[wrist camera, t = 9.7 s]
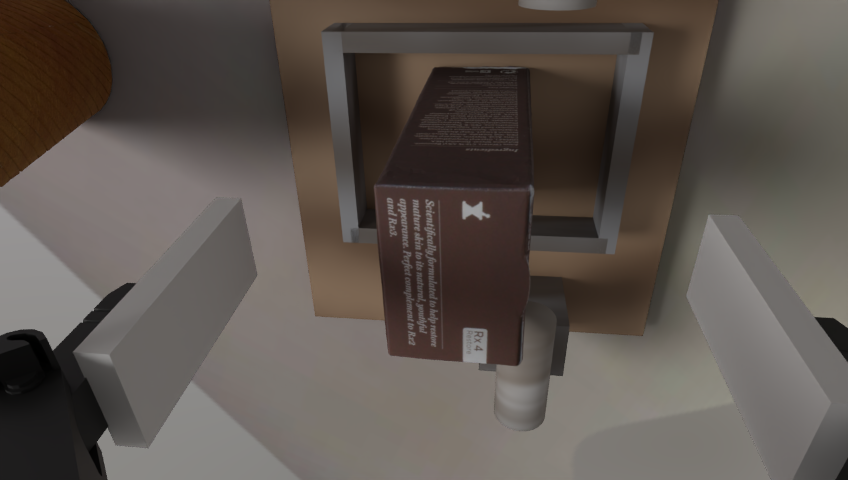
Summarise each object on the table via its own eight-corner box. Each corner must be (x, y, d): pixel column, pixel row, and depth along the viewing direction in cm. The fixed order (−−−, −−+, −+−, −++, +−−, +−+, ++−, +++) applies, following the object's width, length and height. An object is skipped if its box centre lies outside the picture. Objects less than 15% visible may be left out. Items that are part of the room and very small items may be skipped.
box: (424, 65, 24) (368, 180, 14) (530, 65, 24) (552, 184, 14) (428, 192, 27) (384, 363, 17) (522, 194, 27) (535, 373, 17)
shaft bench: (255, -175, 22) (150, -211, 15) (750, -195, 20) (872, -246, 13) (322, 314, 34) (279, 411, 27) (635, 333, 32) (670, 443, 25)
